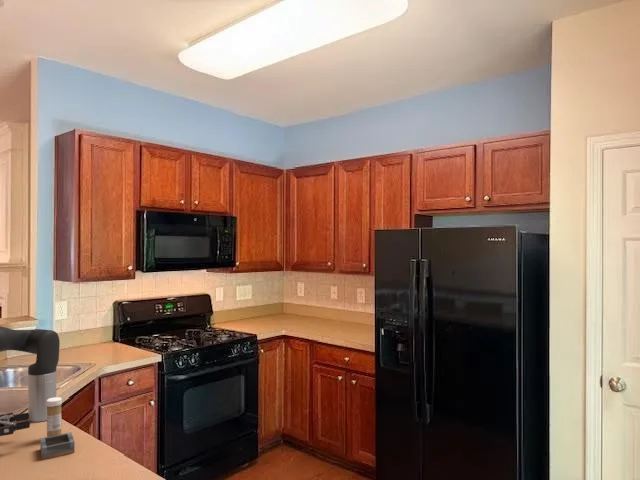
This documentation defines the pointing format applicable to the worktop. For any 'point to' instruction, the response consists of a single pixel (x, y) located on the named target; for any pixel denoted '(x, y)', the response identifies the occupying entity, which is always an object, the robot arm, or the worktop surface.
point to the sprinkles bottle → (54, 416)
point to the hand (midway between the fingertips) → (29, 419)
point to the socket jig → (57, 445)
